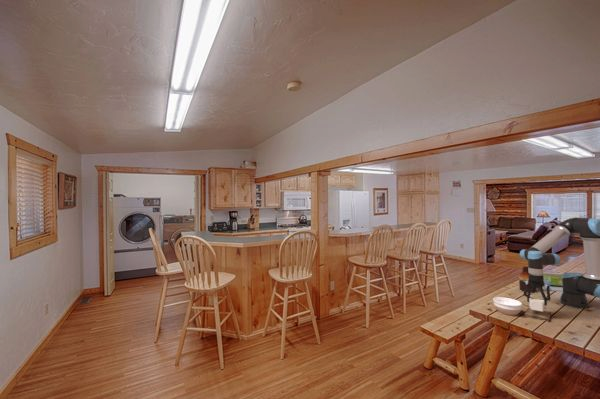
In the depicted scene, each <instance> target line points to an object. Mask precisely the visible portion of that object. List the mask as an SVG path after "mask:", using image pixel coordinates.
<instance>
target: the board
mask: <svg viewBox="0 0 600 399" xmlns="http://www.w3.org/2000/svg"><path fill="white" fill-rule="evenodd" d="M524 317H525V318H528V319H529V318H530V319H534V320H538V319H539V321H542V320H545V321H544V322H546V321H548V322H547V323H549V322H550V321H551V318H550V317H552V312H551V311H547V310H545V311H543V312H542V311H537V310H532V309H531V308H530V307H527V308H526V310H525V312H524Z"/></svg>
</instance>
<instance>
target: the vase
mask: <svg viewBox="0 0 600 399" xmlns="http://www.w3.org/2000/svg"><path fill="white" fill-rule="evenodd" d="M518 280H519V281H518V284H519V285H518V286H519V287H518V288H519V291H520V290H522V291H521V292H523V291H524V284H523V282H524V281H528V280H529V273H528V266H522V271H520V272H519V273H518ZM530 288H531V285H530V284H529V283H528V284H527V292H528V293H529V290H530ZM527 292H526V293H527ZM535 292H536V293H537V288H533V290H532V292H531V294H535ZM528 293H527V294H528Z"/></svg>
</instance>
